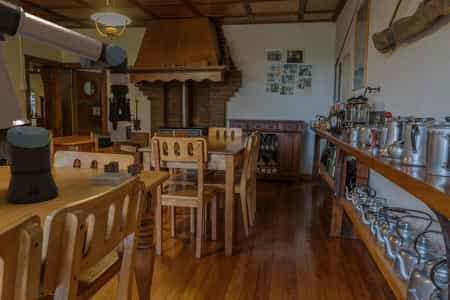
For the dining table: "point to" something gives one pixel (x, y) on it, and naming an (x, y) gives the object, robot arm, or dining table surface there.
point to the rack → (132, 169)
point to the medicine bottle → (122, 129)
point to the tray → (109, 178)
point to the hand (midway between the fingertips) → (121, 136)
